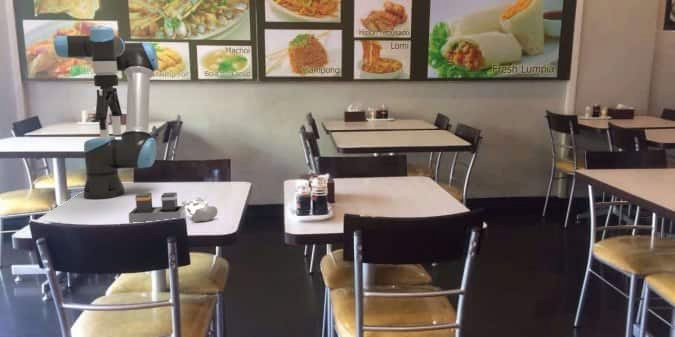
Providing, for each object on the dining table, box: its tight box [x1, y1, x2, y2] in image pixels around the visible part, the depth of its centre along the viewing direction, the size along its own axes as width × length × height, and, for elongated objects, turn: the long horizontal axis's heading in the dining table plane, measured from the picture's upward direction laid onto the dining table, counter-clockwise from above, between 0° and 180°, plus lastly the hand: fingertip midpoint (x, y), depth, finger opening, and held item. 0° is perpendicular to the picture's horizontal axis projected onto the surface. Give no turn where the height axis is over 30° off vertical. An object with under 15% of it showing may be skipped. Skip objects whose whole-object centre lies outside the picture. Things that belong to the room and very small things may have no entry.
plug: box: [134, 192, 153, 213], centre depth 183 cm, size 4×4×9 cm
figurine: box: [181, 197, 218, 223], centre depth 190 cm, size 9×6×12 cm
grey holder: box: [128, 191, 187, 223], centre depth 183 cm, size 8×16×10 cm, turn 95°
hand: (111, 137), depth 196 cm, fingers open, 13 cm apart
